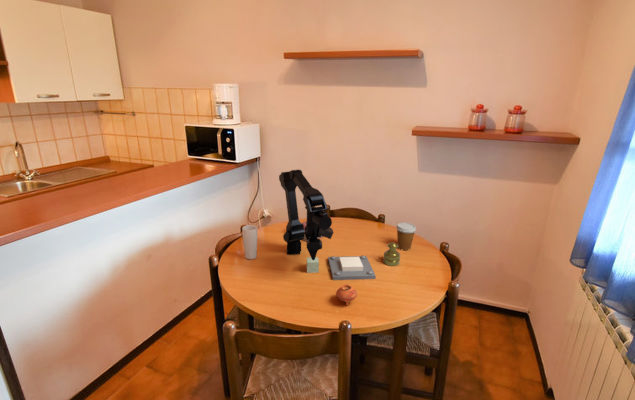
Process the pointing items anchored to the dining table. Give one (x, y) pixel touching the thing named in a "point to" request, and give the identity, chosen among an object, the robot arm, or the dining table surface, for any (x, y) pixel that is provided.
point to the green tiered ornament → (392, 255)
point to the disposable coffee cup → (405, 235)
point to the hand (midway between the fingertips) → (312, 254)
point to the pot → (346, 293)
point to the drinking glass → (250, 241)
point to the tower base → (351, 273)
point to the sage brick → (312, 265)
